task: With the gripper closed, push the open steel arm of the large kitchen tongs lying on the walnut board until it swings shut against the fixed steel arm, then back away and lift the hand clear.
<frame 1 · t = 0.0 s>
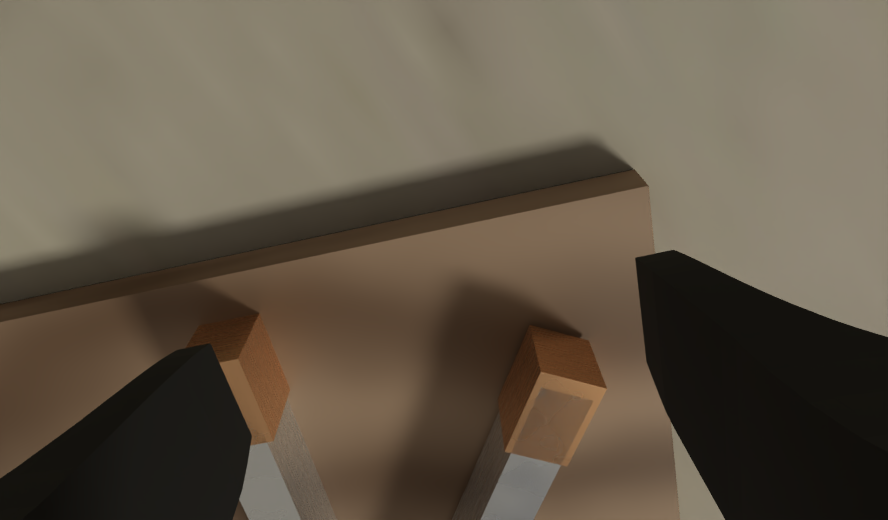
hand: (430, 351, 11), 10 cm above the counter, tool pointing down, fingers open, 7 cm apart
walnut board: (344, 468, 25), on the counter
tongs swing arm: (493, 511, 22), point 3 cm above the counter, hinge at -30.0°
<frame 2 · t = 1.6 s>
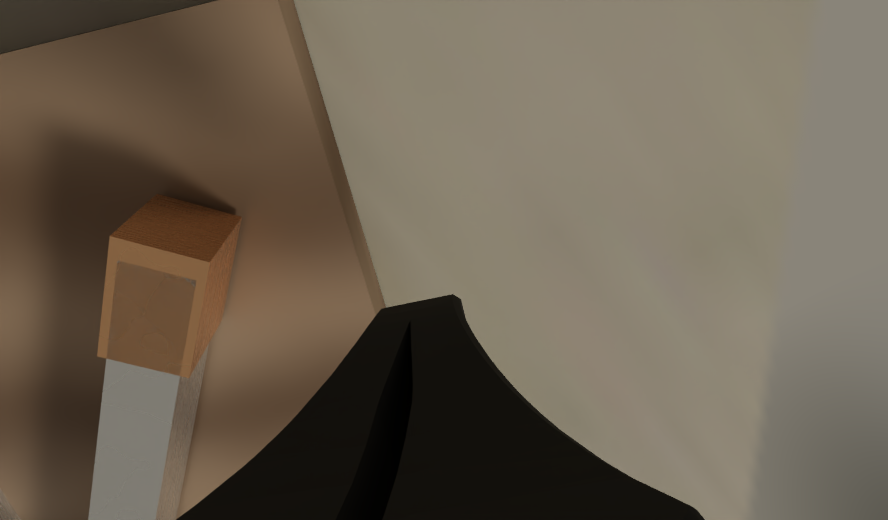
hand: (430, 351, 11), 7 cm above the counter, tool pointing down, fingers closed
walnut board: (10, 405, 20), on the counter
tongs swing arm: (146, 449, 17), point 3 cm above the counter, hinge at -30.0°
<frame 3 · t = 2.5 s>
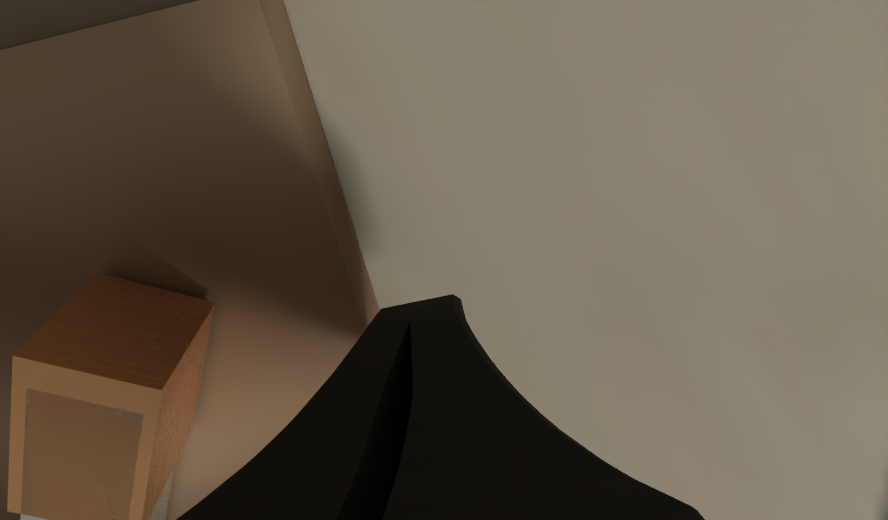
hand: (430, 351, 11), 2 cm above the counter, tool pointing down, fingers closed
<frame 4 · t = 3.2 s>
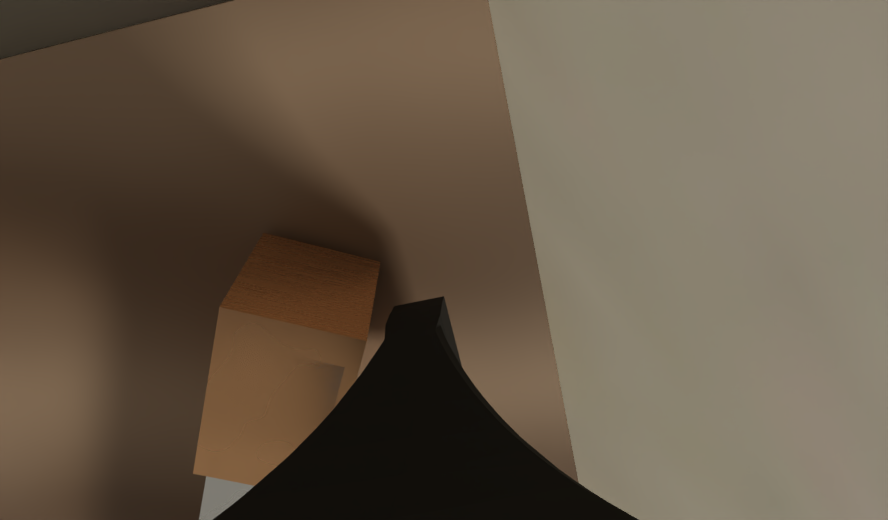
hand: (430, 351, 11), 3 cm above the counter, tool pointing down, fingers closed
walnut board: (60, 497, 16), on the counter
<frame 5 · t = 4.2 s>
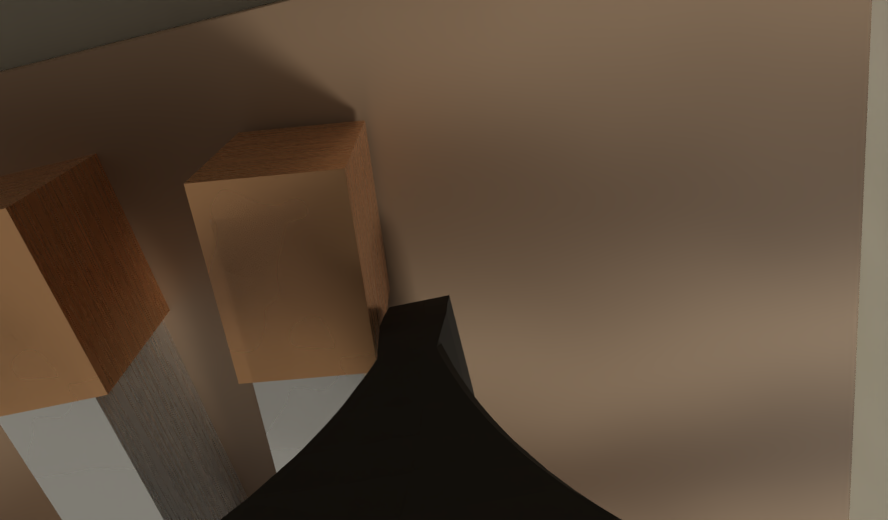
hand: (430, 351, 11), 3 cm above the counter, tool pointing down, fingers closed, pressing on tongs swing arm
walnut board: (286, 459, 15), on the counter
tongs swing arm: (356, 500, 12), point 3 cm above the counter, hinge at -7.5°, touching gripper
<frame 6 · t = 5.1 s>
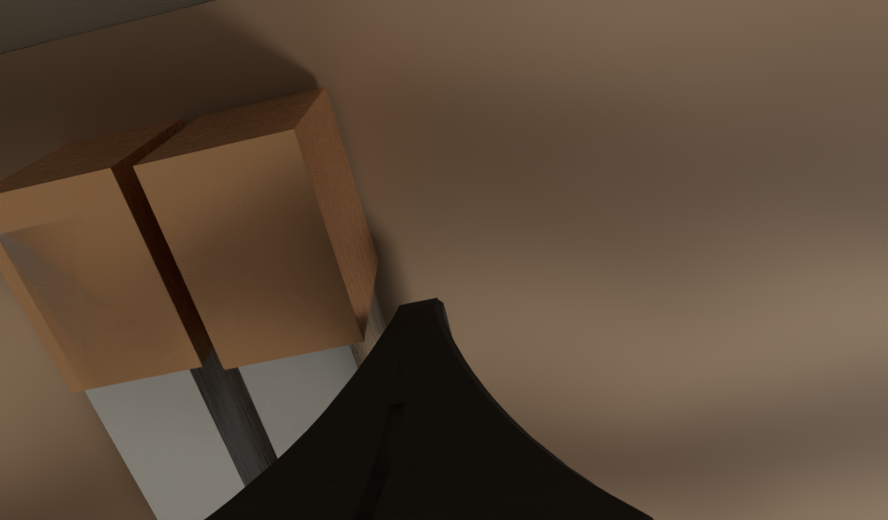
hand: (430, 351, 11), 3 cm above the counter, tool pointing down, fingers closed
walnut board: (348, 441, 15), on the counter
tongs swing arm: (371, 482, 12), point 3 cm above the counter, hinge at 0.1°, touching gripper
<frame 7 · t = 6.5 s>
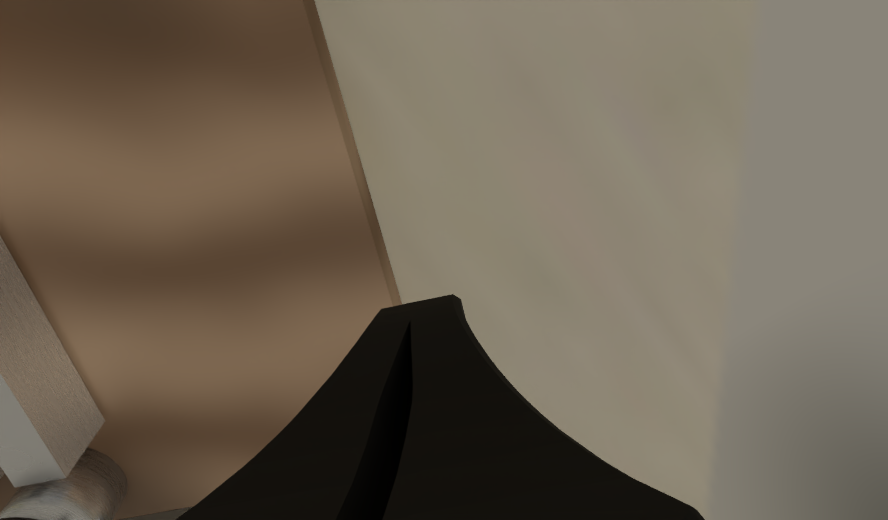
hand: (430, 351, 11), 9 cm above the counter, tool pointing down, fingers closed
tongs fixed arm: (82, 479, 23), resting on walnut board
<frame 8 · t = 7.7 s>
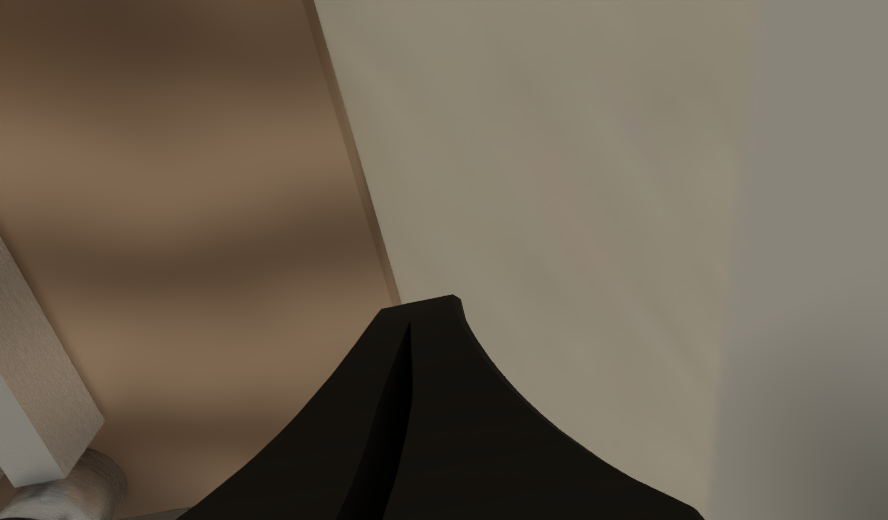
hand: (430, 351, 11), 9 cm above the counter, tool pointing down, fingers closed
tongs fixed arm: (82, 480, 23), resting on walnut board
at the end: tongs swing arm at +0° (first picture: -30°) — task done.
